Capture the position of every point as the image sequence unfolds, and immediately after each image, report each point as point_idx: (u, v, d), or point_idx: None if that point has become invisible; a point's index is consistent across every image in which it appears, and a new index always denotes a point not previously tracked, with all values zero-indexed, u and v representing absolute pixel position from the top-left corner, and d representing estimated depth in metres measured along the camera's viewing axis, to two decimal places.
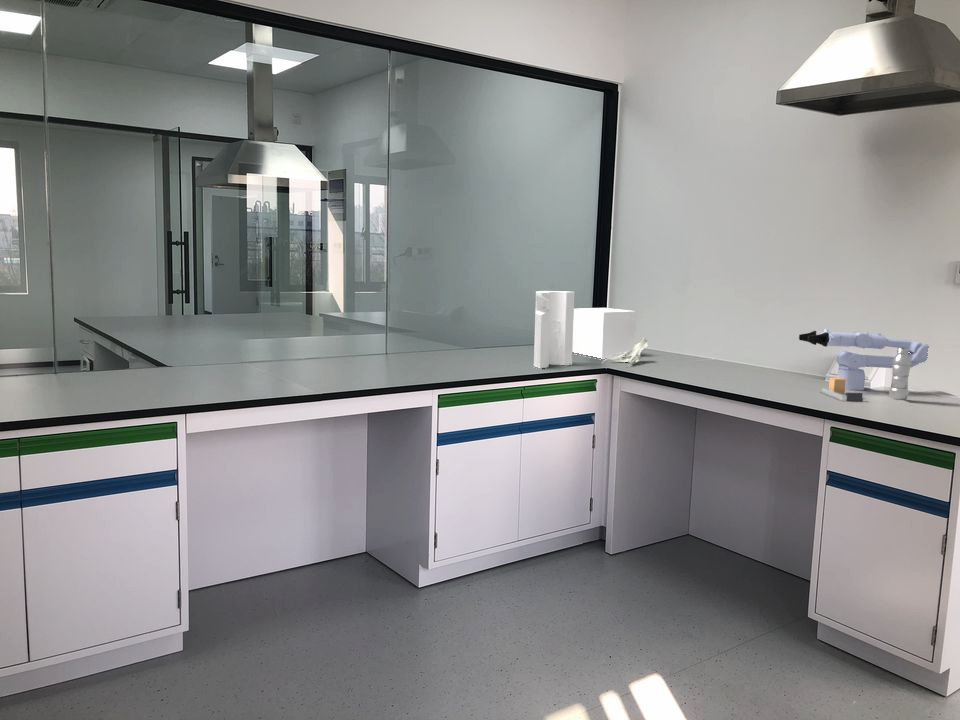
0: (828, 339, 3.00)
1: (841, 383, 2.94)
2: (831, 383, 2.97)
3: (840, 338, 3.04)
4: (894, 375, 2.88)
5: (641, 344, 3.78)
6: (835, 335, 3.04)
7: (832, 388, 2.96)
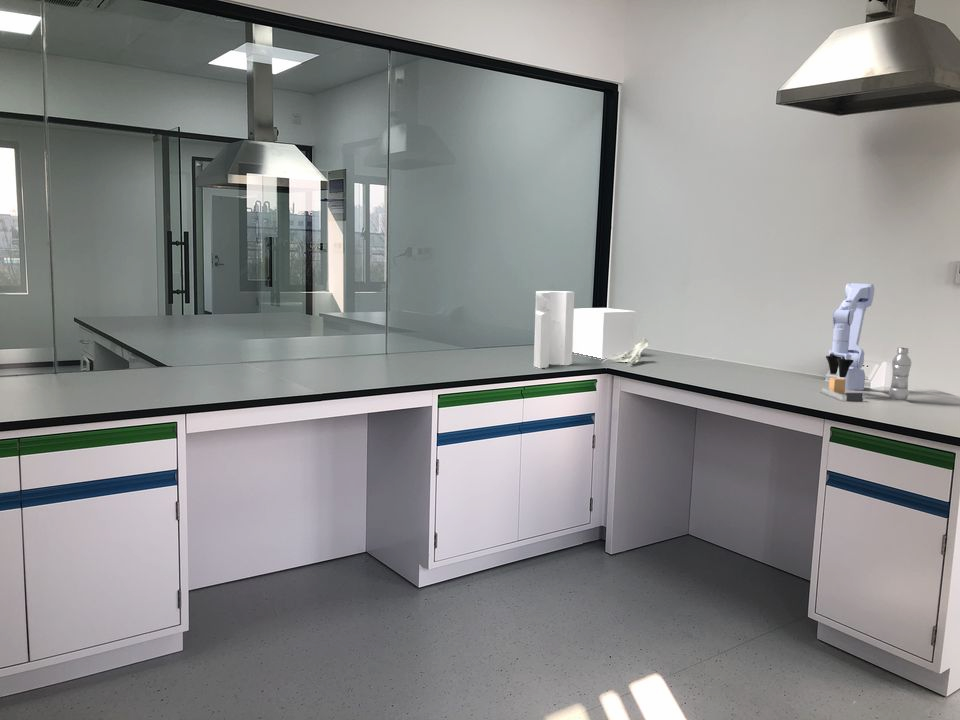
0: (846, 359, 2.89)
1: (841, 383, 2.94)
2: (831, 383, 2.97)
3: (842, 341, 2.92)
4: (894, 375, 2.88)
5: (641, 344, 3.77)
6: (839, 346, 2.92)
7: (832, 388, 2.96)
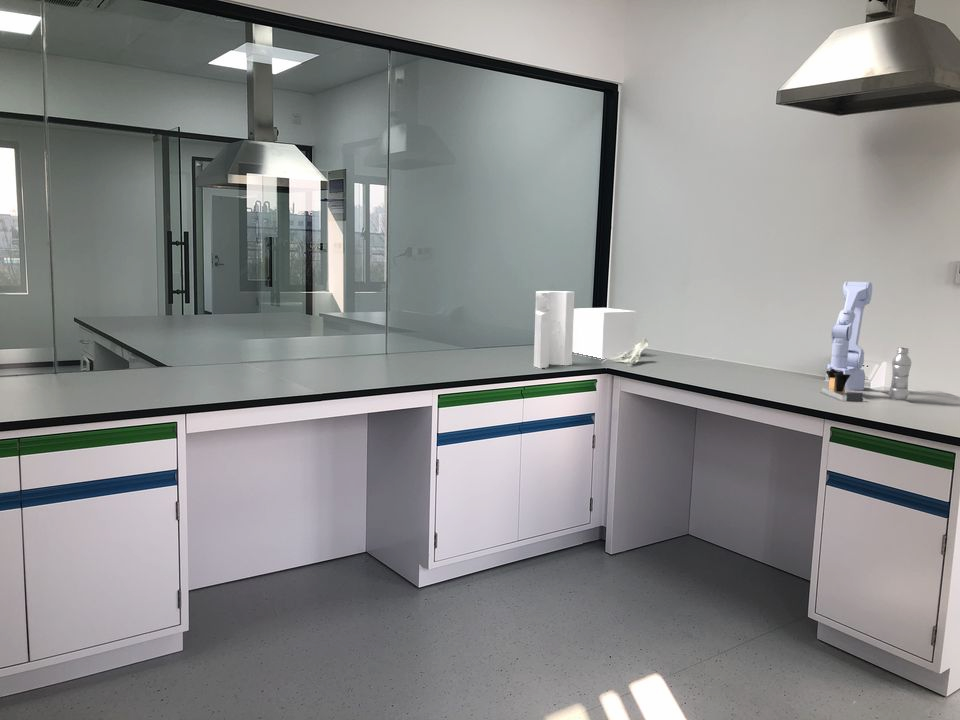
0: (843, 374, 2.91)
1: None
2: (831, 383, 2.97)
3: (841, 356, 2.92)
4: (894, 375, 2.88)
5: (641, 344, 3.77)
6: (838, 361, 2.93)
7: (832, 388, 2.96)
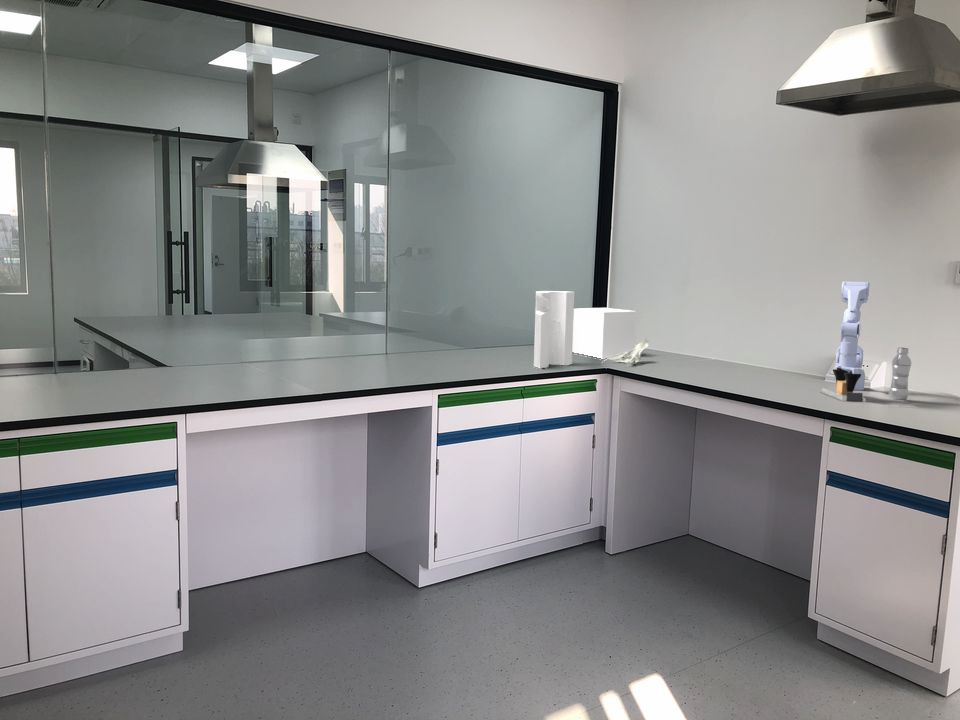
0: (854, 374, 2.82)
1: None
2: (839, 386, 2.90)
3: (850, 355, 2.85)
4: (894, 375, 2.88)
5: (642, 344, 3.77)
6: (846, 360, 2.85)
7: (840, 392, 2.89)
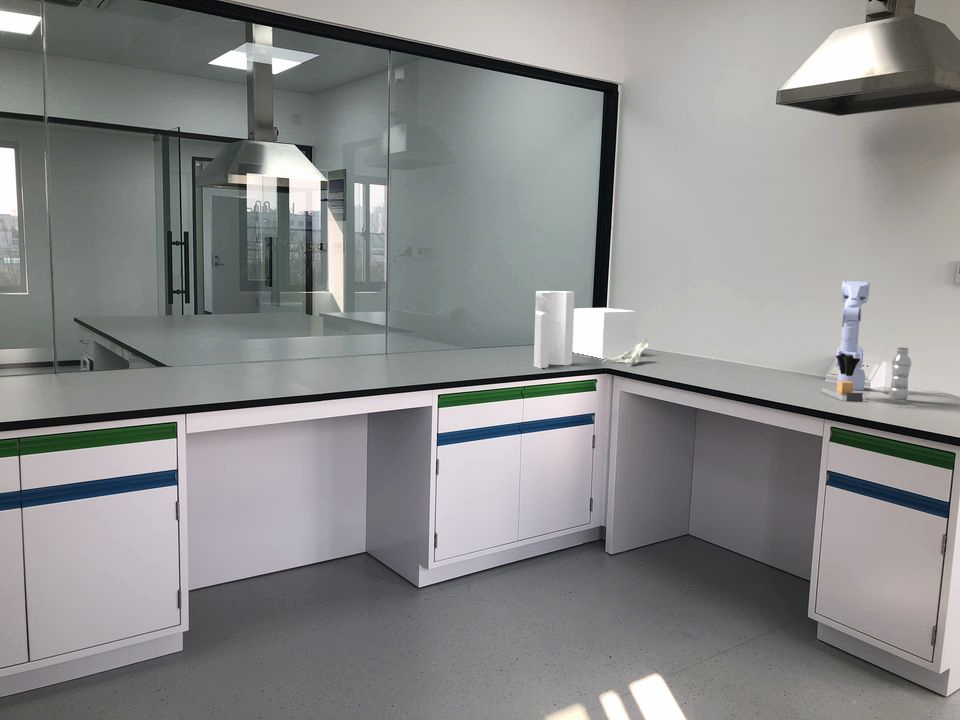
0: (853, 358, 2.83)
1: (848, 386, 2.87)
2: (839, 386, 2.90)
3: (851, 340, 2.84)
4: (894, 375, 2.88)
5: (642, 344, 3.76)
6: (847, 345, 2.85)
7: (840, 392, 2.89)
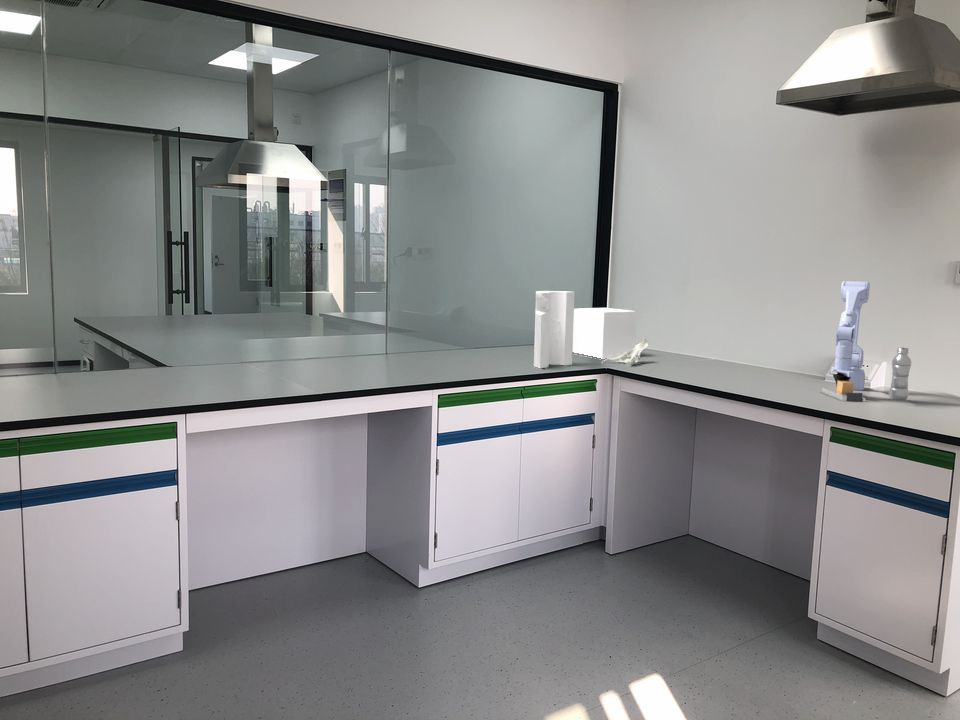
0: (844, 375, 2.90)
1: (849, 386, 2.87)
2: (839, 386, 2.89)
3: (845, 358, 2.88)
4: (894, 375, 2.88)
5: (641, 344, 3.76)
6: (842, 363, 2.89)
7: (840, 391, 2.89)
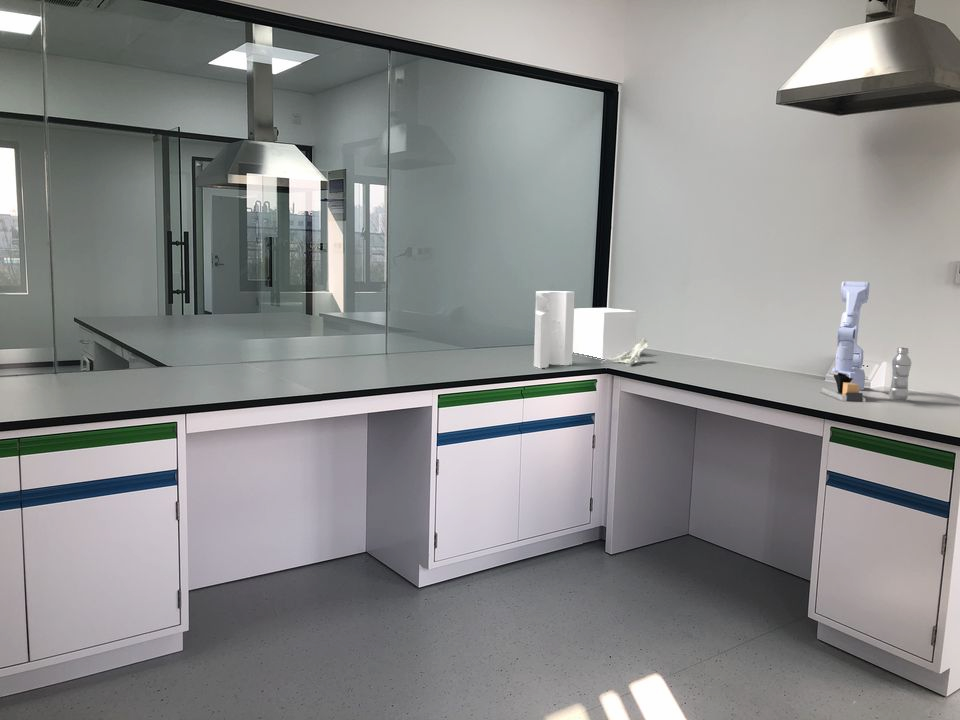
0: (846, 376, 2.88)
1: (854, 388, 2.83)
2: (844, 388, 2.86)
3: (846, 359, 2.87)
4: (894, 375, 2.88)
5: (641, 344, 3.76)
6: (843, 364, 2.88)
7: (845, 393, 2.85)
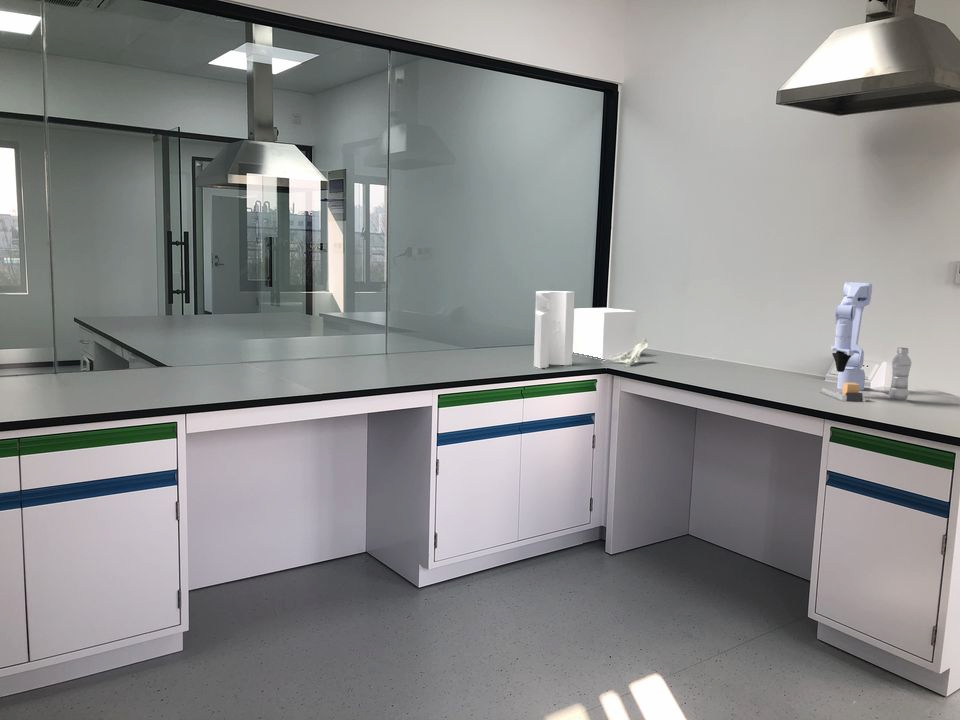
0: (844, 354, 2.90)
1: (854, 388, 2.83)
2: (844, 388, 2.86)
3: (845, 337, 2.89)
4: (894, 375, 2.88)
5: (641, 345, 3.76)
6: (841, 342, 2.89)
7: (845, 393, 2.85)
